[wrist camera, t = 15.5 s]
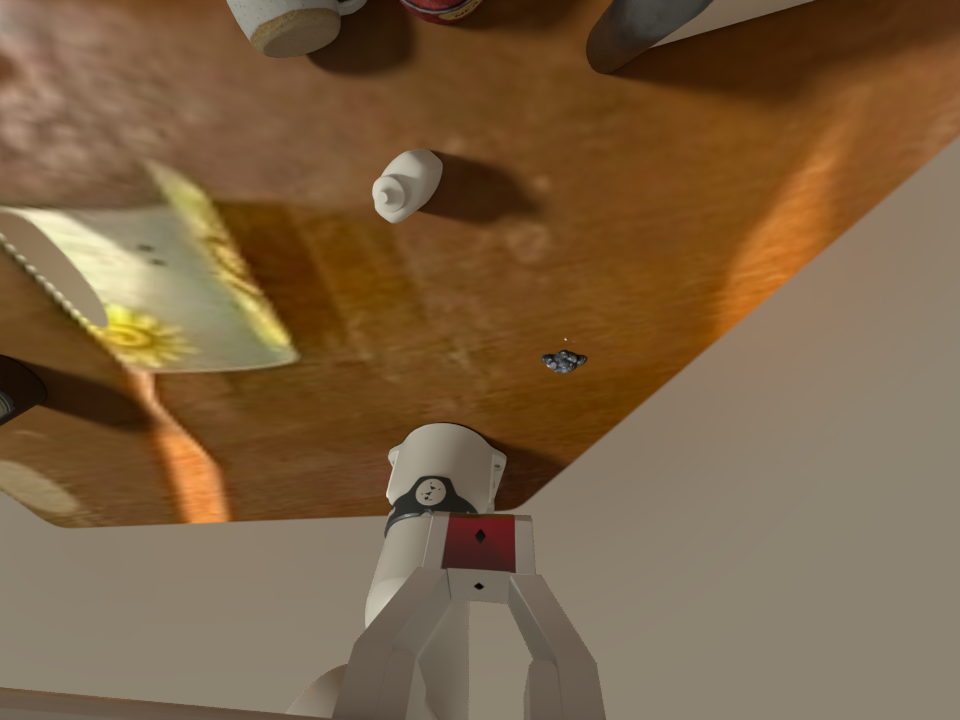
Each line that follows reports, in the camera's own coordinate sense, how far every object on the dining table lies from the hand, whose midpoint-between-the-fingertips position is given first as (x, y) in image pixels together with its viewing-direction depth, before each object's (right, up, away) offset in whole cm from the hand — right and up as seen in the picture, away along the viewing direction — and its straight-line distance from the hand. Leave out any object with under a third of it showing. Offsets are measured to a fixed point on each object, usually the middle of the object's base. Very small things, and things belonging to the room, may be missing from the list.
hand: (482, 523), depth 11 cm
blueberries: (+11, +6, +33) cm, 35 cm away
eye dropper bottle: (-6, +23, +23) cm, 33 cm away
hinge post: (+10, +30, +17) cm, 36 cm away
